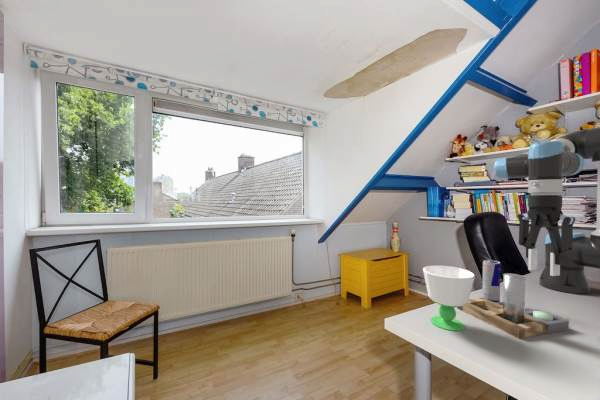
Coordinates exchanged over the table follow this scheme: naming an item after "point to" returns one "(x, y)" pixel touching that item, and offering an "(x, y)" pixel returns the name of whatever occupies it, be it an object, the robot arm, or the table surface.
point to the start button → (543, 315)
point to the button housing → (552, 322)
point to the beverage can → (491, 280)
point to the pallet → (496, 319)
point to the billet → (514, 298)
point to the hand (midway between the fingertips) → (543, 272)
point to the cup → (448, 293)
